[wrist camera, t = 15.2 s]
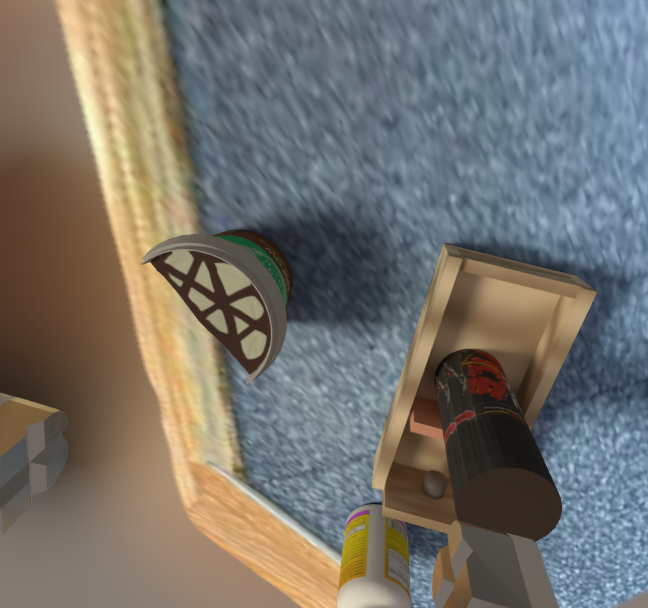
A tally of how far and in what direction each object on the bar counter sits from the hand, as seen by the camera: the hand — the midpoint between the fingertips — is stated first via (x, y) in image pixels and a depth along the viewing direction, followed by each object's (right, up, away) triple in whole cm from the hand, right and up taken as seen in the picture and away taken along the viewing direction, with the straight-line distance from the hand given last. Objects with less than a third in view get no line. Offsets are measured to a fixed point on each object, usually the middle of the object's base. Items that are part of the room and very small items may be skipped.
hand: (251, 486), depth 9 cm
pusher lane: (+14, -3, +32) cm, 35 cm away
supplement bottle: (+7, -20, +40) cm, 45 cm away
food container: (-4, +7, +31) cm, 32 cm away
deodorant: (+14, -3, +31) cm, 35 cm away
